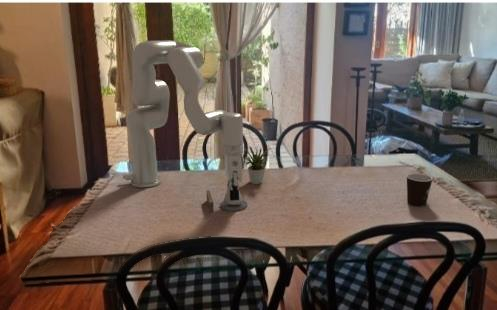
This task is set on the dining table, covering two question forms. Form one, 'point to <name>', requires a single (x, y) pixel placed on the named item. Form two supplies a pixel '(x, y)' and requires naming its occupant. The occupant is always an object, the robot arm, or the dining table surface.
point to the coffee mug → (418, 189)
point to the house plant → (256, 166)
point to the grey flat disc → (233, 206)
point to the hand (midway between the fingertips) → (233, 196)
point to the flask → (227, 197)
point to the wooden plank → (210, 201)
